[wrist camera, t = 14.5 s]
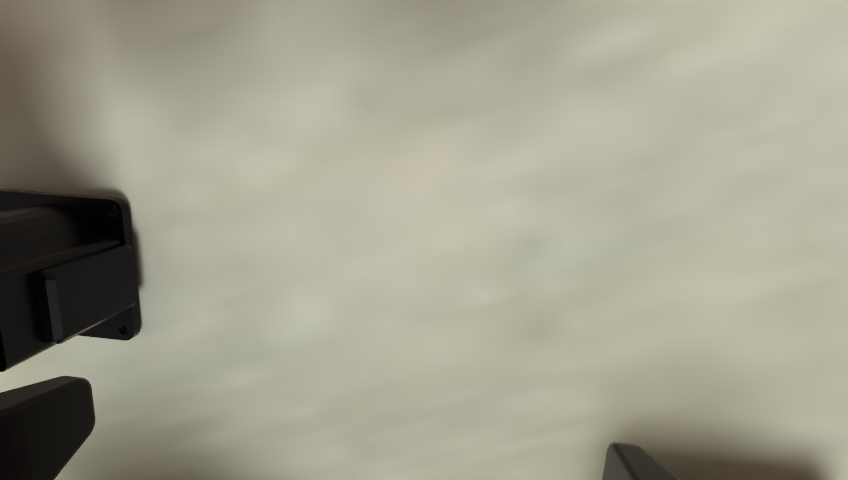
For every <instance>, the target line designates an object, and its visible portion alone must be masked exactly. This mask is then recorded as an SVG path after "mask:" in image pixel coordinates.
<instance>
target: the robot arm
mask: <svg viewBox="0 0 848 480" xmlns="http://www.w3.org/2000/svg"><path fill="white" fill-rule="evenodd" d="M113 206H114V207H115V208H116V210H117V214H115V213H114V211H113ZM125 326H127V327H128V329H129V331H128V330H127V329H126V328H125ZM139 332H140V320H139V309H138V299H137V289H136V278H135V268H134V258H133V247H132V237H131V227H130V216H129V209H128V206H127V204H126V203H125V202H124V201H123V200H122V199H119V198H110V197H97V196H84V195H71V194H58V193H45V192H33V191H20V190H7V189H0V372H3V371H6V370H7V369H9V368H11V367H13V366H15V365H17V364H19V363H21V362H23V361H25V360H27V359H29V358H31V357H33V356H35V355H37V354H38V353H40V352H42V351H44V350H46V349H48V348H50V347H52V346H54V345H56V344H60V343H63V342H65V341H67V340H69V339H71V338H73V337H75V336H76V335H80V336H89V337H99V338H108V339H117V340H130V339H131V338H133V337H135V336H136V335H138V334H139ZM94 425H95V411H94V403H93V395H92V387H91V384H90V383H89V381H88V380H86V379H85V378H78V377H70V376H61V377H57V378H53V379H50V380H46V381H42V382H39V383H35V384H31V385H27V386H24V387H20V388H16V389H13V390H9V391H5V392H2V393H0V480H54V479H55V478H56V476H57V475H58V474H59V473H60V471H61V470H62V469H63V468H64V466H65V465H66V464H67V463H68V461H69V460H70V459H71V458H72V456H73V455H74V454H75V453H76V451H77V450H78V449H79V448H80V446H81V445H82V444H83V443H84V441H85V440H86V439H87V438H88V436H89V435H90V434H91V432H92V430H93V428H94ZM602 480H680V479H679V478H678V477H677V476H675V475H674V474H673V473H672V472H670V471H669V470H668V469H667V468H666V467H664V466H663V465H662V464H661V463H659V462H658V461H657V460H656V459H654V458H653V457H652V456H651V455H649V454H648V453H647V452H646V451H644V450H643V449H642V448H640V447H639V446H637V445H634V444H625V443H617V442H613V443H611V444H610V445H609V447H608V450H607V455H606V461H605V467H604V472H603V478H602Z"/></svg>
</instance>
